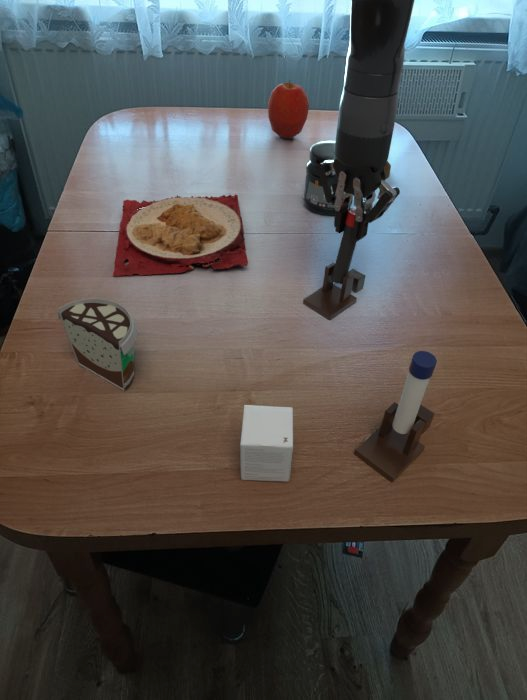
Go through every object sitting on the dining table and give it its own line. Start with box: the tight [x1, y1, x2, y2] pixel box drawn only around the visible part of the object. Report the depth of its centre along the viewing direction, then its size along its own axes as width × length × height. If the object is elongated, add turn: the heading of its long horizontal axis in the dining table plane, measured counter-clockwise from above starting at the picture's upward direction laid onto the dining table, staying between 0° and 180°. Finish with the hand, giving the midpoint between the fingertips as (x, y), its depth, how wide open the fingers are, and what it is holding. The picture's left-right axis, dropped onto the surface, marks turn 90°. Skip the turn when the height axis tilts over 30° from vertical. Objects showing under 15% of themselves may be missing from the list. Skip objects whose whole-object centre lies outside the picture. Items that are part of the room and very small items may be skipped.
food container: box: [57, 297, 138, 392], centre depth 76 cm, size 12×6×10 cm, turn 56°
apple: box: [267, 79, 310, 139], centre depth 136 cm, size 10×10×14 cm
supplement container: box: [302, 140, 354, 216], centre depth 112 cm, size 10×10×12 cm
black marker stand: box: [302, 262, 366, 321], centre depth 90 cm, size 11×6×6 cm, turn 135°
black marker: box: [331, 208, 357, 285], centre depth 86 cm, size 12×3×3 cm
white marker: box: [392, 350, 438, 434], centre depth 63 cm, size 12×3×3 cm
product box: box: [239, 404, 294, 483], centre depth 65 cm, size 6×6×7 cm
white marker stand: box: [353, 402, 435, 483], centre depth 69 cm, size 11×6×6 cm, turn 135°
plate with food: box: [112, 193, 249, 277], centre depth 104 cm, size 24×26×4 cm
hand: (349, 234), depth 84 cm, fingers closed on black marker, 2 cm apart
